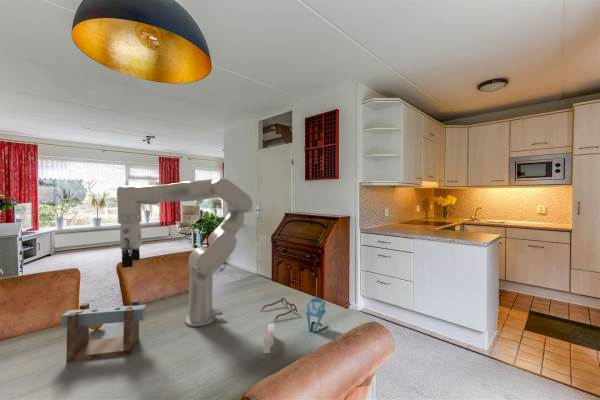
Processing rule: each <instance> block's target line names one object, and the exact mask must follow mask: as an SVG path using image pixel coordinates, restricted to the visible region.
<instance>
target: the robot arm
mask: <svg viewBox="0 0 600 400" xmlns="http://www.w3.org/2000/svg"><path fill="white" fill-rule="evenodd" d="M218 198H220V199H221V200H223V202H225V203H226V208H227V213H226V216H225V218H224V219H223V220H222V222H221V223H219V225H217V227H215V229H213V231H212V232H210V234H209V236H208V238H207V243H208V245H209V246H208V247H203V246H202V247H200V246H199V247H197V248H194V249H193V250H192V251H191V253H189V257H188V271H189V293H188V294H189V297H188V300H189V301H188V303H189V304H188V315H187V316H186V317H185V318H184V323H185V324H186V325H187V326H189V327H202V326H203V327H204V326H207V325H209V324H212V323H214V322H215V321H216V318H217V317H216V316H223V309H222V310H221V309H220V308H216V309H215V308H214V306H213V292H214V291H213V283H214V279H213V278H214V276H213V274H214V273H215V272H216V271H218V270H219V269H220V267H221V266H222V265H223V264H224V263H225V262H226V260H227V259H228V258H229V257H230V256H231V254H232V253H233V252H234V250H235V249H236V246H237V238H236V235H237V233H238V232H240V230H241V228H242V227H243V225H244V222H245V213H248V212H250V211H251V210H252V208H253V205H254V202H253V199H252V197H251V196H250V195H249V194H248V193H247V192H245V191H244V190H243V189H241V188H240V187H239V186H237V185H236V184H235V183H233V182H232V181H231V180H229V179H227V178H224V177H221V178H210V179H197V180H187V181H186V180H185V181H181V182H175V183H169V184H166V183H165V184H155V185H144V186H143V185H142V186H136V185H120V186H118V187H117V188H116V200H117V202H116V203H117V204H116V206H117V224H120V229H119V230H120V231H119V234H120V235H119V237H120V238H119V239H120V240H119V242H120V249H121V267H122V268H123V269H124V268H132V267H133V265H134V264H133V263H134V261H139V260H140V259H141V258H140V254H141V253H140V247H141V246H142V245H143V240H142V239H143V238H142V229H141V223H142V205H151V206H154V205H157V204H160V203H167V202H193V201H202V200H210V199H218Z"/></svg>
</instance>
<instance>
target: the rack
mask: <svg viewBox="0 0 600 400" xmlns="http://www.w3.org/2000/svg"><path fill="white" fill-rule="evenodd" d="M134 305H140V299H133V300H132V301H131V305H130V306H134ZM82 309H90V302H87V303H85V302H84V303H82V304H80V305H79V310H82ZM139 339H140V321H133V308H126V309H125V310H124V322H123V336H117V337H109V338H108V337H107V338H99V339H98V338H97V339H90V328H89V325H85V326H78V312H75V313H70V314H69V315H67V327H66V356H65V357H66V360H65V361H66V363H70V362H77V361H86V360H93V359H100V358H101V359H103V358H111V357H118V356H126V355H131V353H132V352H133V349H134V348H135V346H136V345H137V343H138V341H139Z"/></svg>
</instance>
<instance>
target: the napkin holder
mask: <svg viewBox="0 0 600 400" xmlns="http://www.w3.org/2000/svg"><path fill="white" fill-rule="evenodd" d="M274 332H275V324H274V323H269V324H267V332H264V333H263V350H262V351H263V352H262V354H263V353H264V354H265V353H270V354H271V347H272V346H271V345H273V346H274V344H275V343H274V340H275V339H274V337H275V336H274V334H275V333H274ZM265 355H266V354H265Z"/></svg>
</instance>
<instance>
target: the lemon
mask: <svg viewBox="0 0 600 400" xmlns="http://www.w3.org/2000/svg"><path fill="white" fill-rule="evenodd" d="M103 325H104V324H96V325H89V330H94V331H98V330H99V329H100V328H101V327H103Z"/></svg>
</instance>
